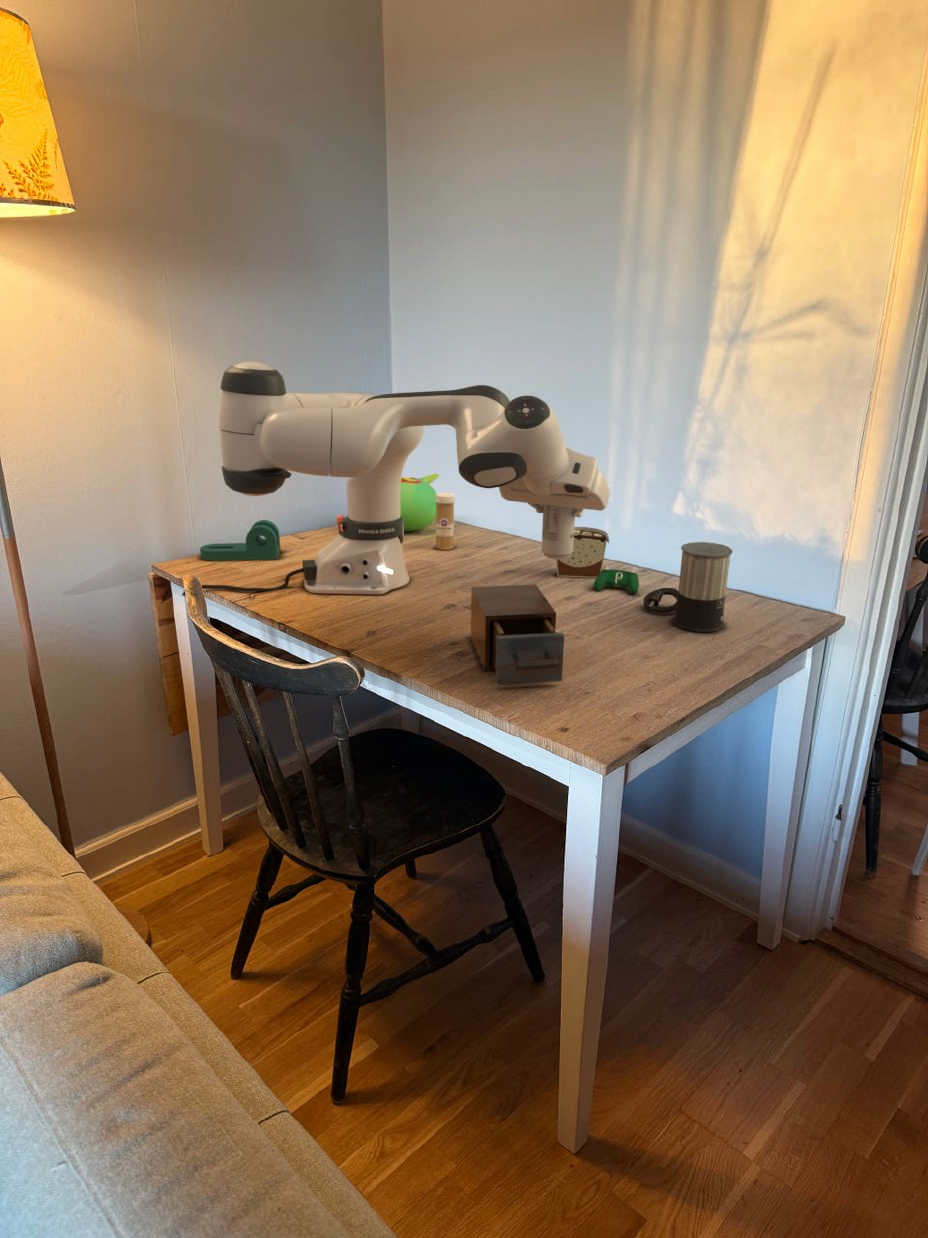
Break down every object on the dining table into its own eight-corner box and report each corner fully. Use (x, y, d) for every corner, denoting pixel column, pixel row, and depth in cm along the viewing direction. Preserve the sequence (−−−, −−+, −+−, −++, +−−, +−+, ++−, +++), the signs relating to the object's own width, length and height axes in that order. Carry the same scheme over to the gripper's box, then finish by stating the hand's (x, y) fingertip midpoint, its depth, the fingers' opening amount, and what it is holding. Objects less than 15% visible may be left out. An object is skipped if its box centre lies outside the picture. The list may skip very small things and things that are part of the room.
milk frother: (721, 636, 150) (731, 557, 144) (634, 624, 155) (641, 548, 150) (726, 611, 162) (736, 537, 157) (646, 601, 167) (652, 530, 162)
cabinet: (553, 667, 136) (556, 612, 133) (484, 670, 135) (485, 616, 131) (533, 634, 150) (535, 584, 147) (470, 637, 148) (471, 587, 145)
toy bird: (364, 535, 213) (362, 479, 208) (381, 520, 228) (379, 467, 223) (433, 539, 210) (432, 482, 205) (445, 523, 226) (445, 469, 221)
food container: (605, 569, 187) (608, 526, 183) (606, 578, 181) (610, 534, 178) (550, 567, 188) (552, 525, 184) (550, 576, 182) (552, 532, 179)
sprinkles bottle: (437, 550, 200) (436, 496, 196) (434, 545, 205) (434, 492, 200) (455, 549, 201) (455, 495, 196) (452, 544, 205) (452, 491, 201)
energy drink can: (577, 558, 157) (582, 480, 152) (548, 560, 155) (552, 481, 150) (565, 550, 162) (569, 474, 157) (536, 552, 161) (539, 475, 155)
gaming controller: (637, 600, 173) (642, 575, 175) (637, 592, 169) (641, 566, 172) (594, 595, 176) (598, 571, 178) (592, 587, 172) (597, 562, 175)
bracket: (280, 551, 199) (278, 519, 196) (276, 559, 193) (274, 526, 190) (204, 552, 197) (200, 520, 195) (198, 561, 191) (194, 527, 188)
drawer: (570, 694, 125) (572, 647, 122) (502, 698, 123) (503, 650, 120) (541, 648, 142) (543, 605, 139) (482, 651, 140) (482, 608, 137)
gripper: (485, 478, 147) (504, 520, 159) (597, 489, 140) (608, 532, 151) (496, 449, 150) (513, 493, 161) (606, 458, 142) (616, 503, 154)
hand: (560, 512), depth 156 cm, fingers closed on energy drink can, 6 cm apart
